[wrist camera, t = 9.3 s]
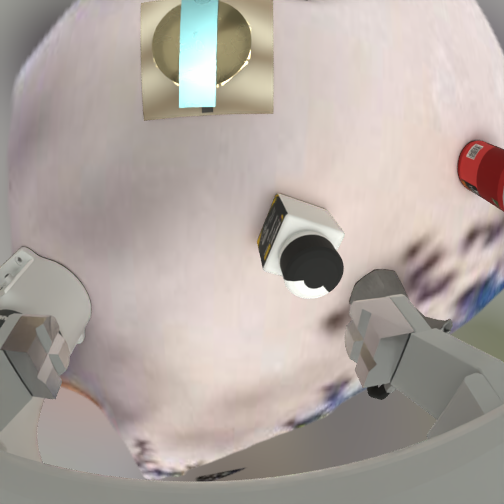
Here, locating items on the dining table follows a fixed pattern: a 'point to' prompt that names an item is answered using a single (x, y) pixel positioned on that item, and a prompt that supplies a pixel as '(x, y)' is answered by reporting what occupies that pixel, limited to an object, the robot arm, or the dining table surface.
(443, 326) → the coffeepot
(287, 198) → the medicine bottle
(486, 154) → the canned food
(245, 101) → the square recessed plate
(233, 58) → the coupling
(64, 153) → the dining table surface
